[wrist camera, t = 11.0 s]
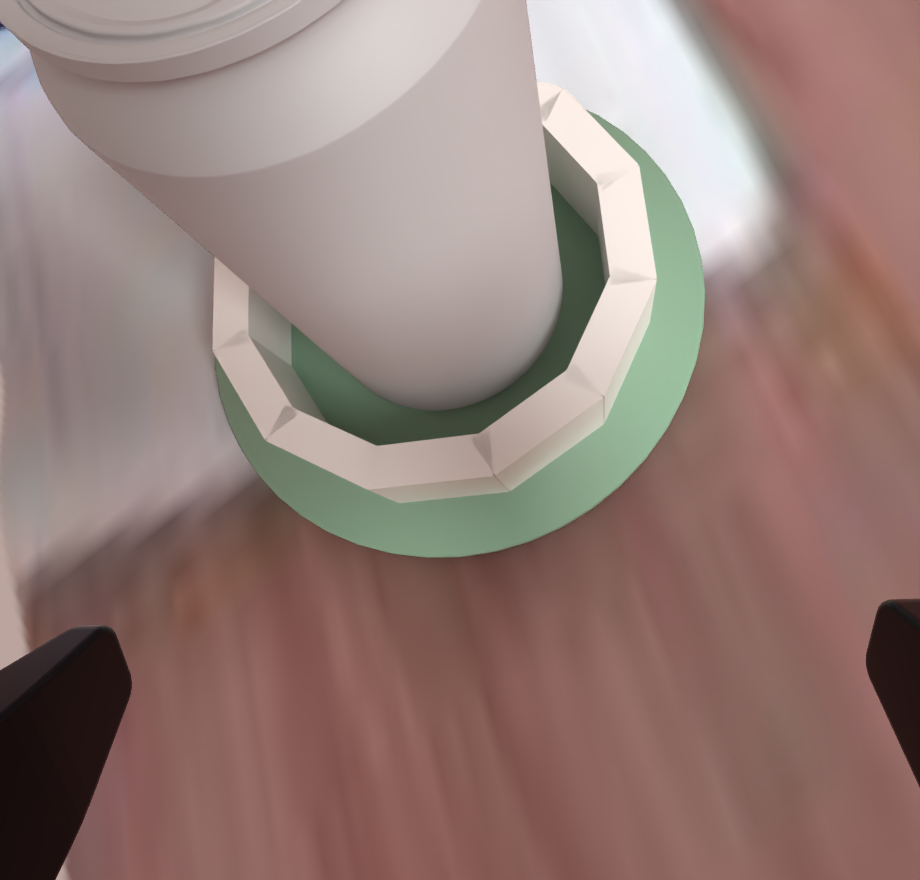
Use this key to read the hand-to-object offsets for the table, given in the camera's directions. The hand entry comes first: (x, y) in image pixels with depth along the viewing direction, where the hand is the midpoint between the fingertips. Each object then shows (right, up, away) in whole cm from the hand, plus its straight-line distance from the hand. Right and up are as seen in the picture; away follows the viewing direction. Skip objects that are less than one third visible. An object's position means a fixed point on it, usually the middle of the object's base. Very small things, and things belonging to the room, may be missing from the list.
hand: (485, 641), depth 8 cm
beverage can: (-1, +6, +11) cm, 12 cm away
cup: (-1, +6, +11) cm, 13 cm away
